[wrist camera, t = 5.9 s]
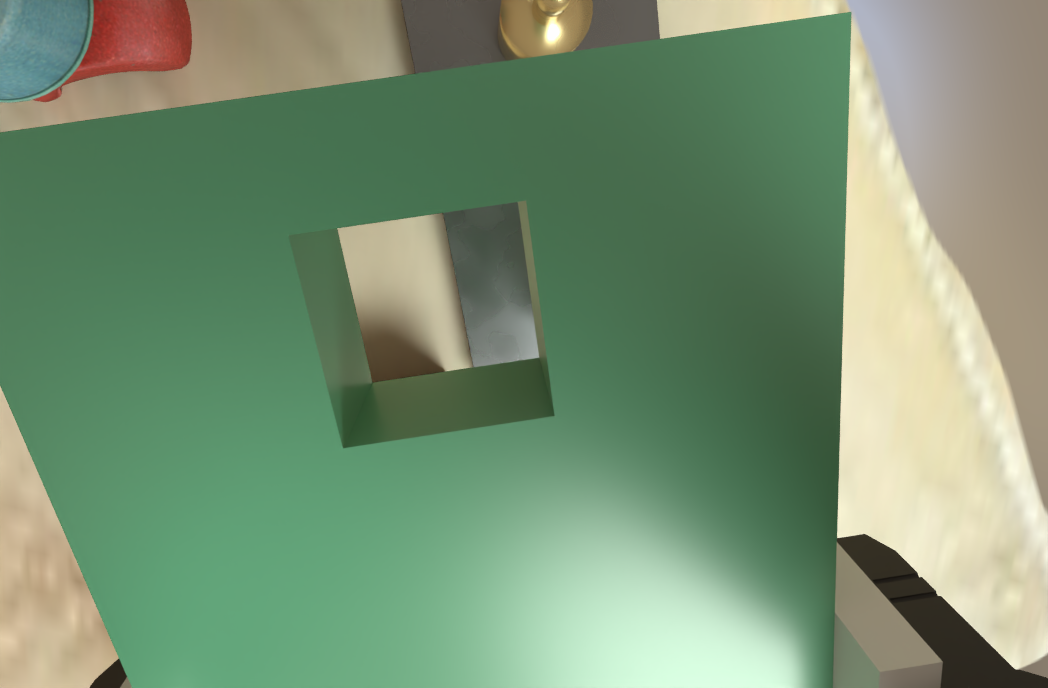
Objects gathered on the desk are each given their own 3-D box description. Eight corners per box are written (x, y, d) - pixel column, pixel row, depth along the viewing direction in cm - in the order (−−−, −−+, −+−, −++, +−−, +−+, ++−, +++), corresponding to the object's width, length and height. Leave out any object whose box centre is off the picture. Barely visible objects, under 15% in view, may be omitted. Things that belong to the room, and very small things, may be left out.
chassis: (402, -6, 26) (358, -88, 17) (642, -46, 26) (728, -149, 17) (477, 376, 31) (475, 471, 22) (676, 341, 31) (755, 423, 22)
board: (41, 145, 8) (-104, 146, 6) (761, 43, 8) (851, 12, 6) (350, 992, 13) (328, 1137, 11) (773, 921, 13) (822, 1052, 11)
